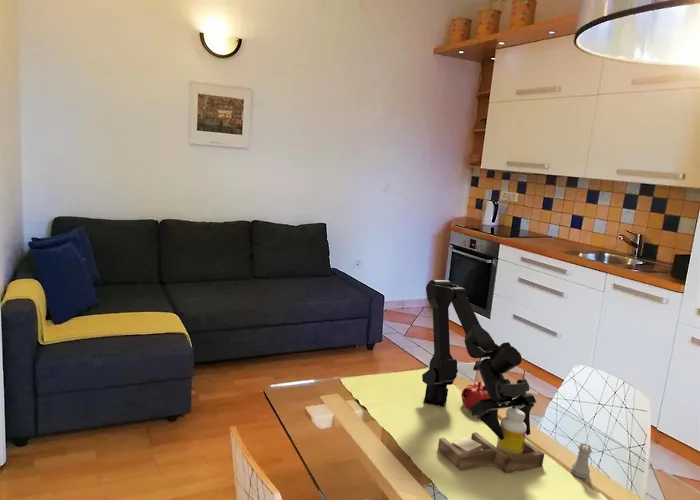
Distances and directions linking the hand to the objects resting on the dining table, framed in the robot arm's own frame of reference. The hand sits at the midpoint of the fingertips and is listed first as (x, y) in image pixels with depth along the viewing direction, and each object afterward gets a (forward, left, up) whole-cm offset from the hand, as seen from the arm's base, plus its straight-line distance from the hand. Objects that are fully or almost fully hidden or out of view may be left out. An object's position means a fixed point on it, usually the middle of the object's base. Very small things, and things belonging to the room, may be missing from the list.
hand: (515, 437), depth 137 cm
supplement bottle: (-1, +1, -7) cm, 7 cm away
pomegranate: (-10, +28, -7) cm, 31 cm away
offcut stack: (-12, -3, -7) cm, 14 cm away
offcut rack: (-6, -2, -7) cm, 9 cm away
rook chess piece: (+17, +1, -7) cm, 18 cm away
